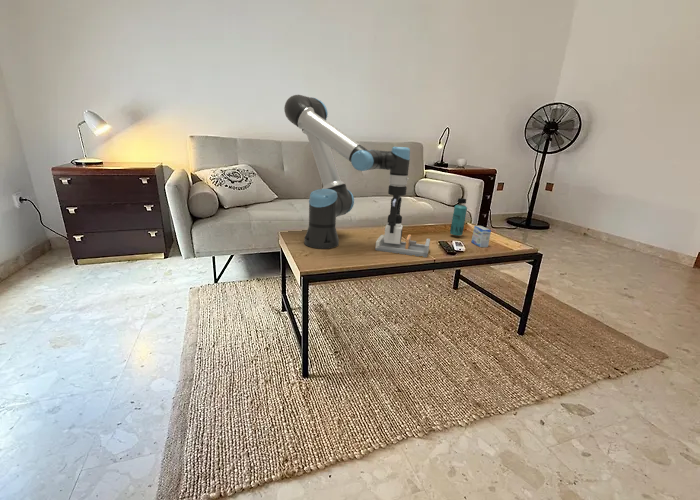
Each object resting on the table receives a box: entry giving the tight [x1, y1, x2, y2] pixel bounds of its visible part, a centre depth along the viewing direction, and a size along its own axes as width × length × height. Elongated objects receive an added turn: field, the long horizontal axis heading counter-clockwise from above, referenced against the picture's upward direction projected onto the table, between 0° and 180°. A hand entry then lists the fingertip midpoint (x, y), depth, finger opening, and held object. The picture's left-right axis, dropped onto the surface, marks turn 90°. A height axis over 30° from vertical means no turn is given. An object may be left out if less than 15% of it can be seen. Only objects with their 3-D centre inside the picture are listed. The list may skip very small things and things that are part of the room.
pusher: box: [405, 234, 417, 249], centre depth 150 cm, size 4×8×5 cm, turn 164°
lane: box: [375, 234, 431, 258], centre depth 151 cm, size 22×12×5 cm, turn 74°
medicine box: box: [471, 225, 492, 248], centre depth 166 cm, size 8×4×9 cm, turn 12°
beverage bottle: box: [449, 197, 468, 237], centre depth 176 cm, size 6×7×20 cm
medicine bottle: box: [383, 214, 404, 244], centre depth 150 cm, size 7×7×12 cm
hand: (392, 237), depth 151 cm, fingers closed on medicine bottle, 7 cm apart
